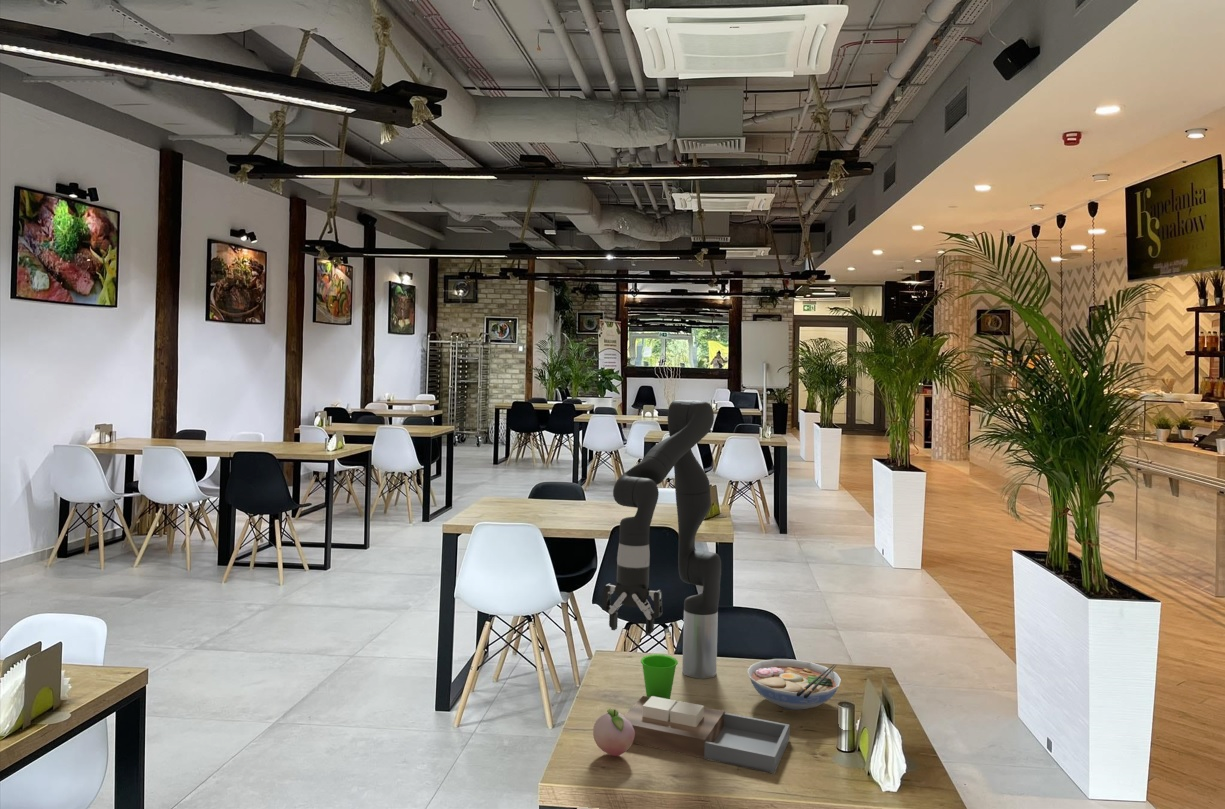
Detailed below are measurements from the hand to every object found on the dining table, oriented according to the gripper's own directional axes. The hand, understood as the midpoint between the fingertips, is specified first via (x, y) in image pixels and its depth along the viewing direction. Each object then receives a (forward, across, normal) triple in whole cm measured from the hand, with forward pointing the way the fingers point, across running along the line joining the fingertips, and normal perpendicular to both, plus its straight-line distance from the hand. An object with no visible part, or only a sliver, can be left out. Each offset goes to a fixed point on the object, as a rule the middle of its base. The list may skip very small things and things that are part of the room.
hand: (631, 632), depth 186 cm
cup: (+21, -4, -11) cm, 24 cm away
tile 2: (+17, -15, +2) cm, 23 cm away
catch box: (+21, -28, +2) cm, 35 cm away
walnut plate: (+21, -12, +2) cm, 24 cm away
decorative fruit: (+21, -3, +18) cm, 28 cm away
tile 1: (+17, -8, +2) cm, 19 cm away
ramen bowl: (+20, -34, -26) cm, 47 cm away
